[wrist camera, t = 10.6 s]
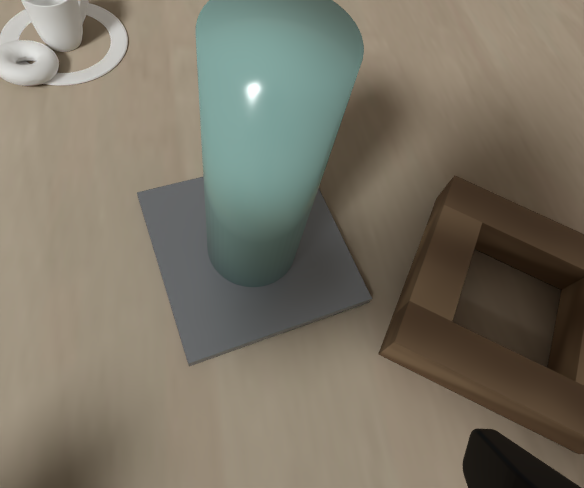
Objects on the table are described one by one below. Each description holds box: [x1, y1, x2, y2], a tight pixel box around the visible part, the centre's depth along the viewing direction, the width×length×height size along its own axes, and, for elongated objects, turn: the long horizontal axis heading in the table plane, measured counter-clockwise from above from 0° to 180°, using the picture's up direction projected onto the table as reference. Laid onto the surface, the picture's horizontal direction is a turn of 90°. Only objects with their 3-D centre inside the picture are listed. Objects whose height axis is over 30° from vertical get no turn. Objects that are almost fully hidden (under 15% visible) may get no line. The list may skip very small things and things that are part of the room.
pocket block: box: [379, 176, 584, 454], centre depth 25 cm, size 11×11×2 cm
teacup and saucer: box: [0, 0, 128, 86], centre depth 29 cm, size 9×8×4 cm
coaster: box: [137, 177, 372, 366], centre depth 25 cm, size 10×10×1 cm
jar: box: [196, 0, 364, 287], centre depth 19 cm, size 5×5×14 cm
